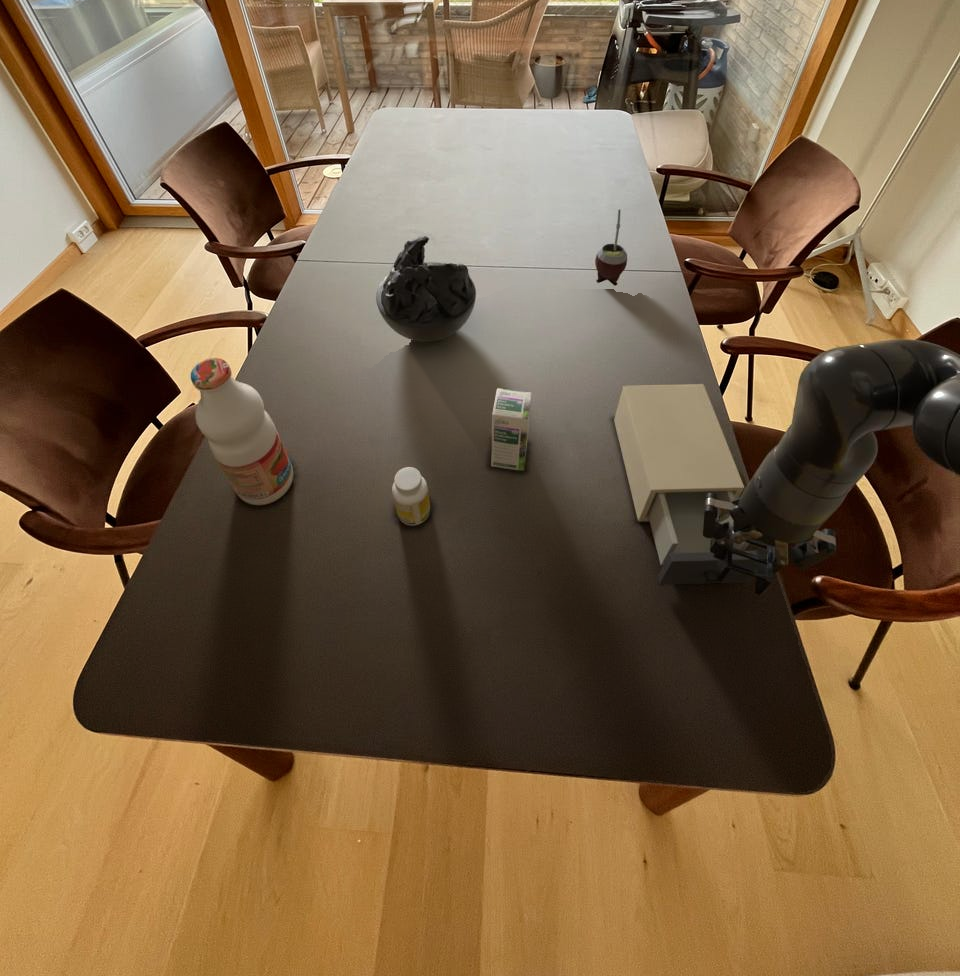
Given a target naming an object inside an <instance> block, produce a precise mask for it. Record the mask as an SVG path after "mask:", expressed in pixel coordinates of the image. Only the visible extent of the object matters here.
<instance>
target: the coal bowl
mask: <svg viewBox="0 0 960 976" xmlns="http://www.w3.org/2000/svg"><path fill="white" fill-rule="evenodd" d="M429 241H430V238H429V236H427V235H420V236H418V237H417V238H413V239H409V240H407V241H406V242H405V243H404V245H403V249H402V250H401V251H400V252H399V253H398V255H397V257H396V259H395V261H394V263H393V265H392V267H391V269H390V272H389V274H387V275H386V276H385V277H384V278H383V279H382V280H381V282H380V283H379V285H378V288H377V290H376V293H375V302H376V306H377V308H378V311H379V313H380V315H381V318H382V319H383V320H384V321H385V323H386V324H387V325H388V326H389V327H390V328H391V329H392V331H394V332H396V334H397V335H400V336H402V337H404V338H406V339H408V340H411V341H415V342H421V343H431V342H437V341H441V340H444V339H446V338H449V337H451V336H453V335H454V334H455V333H457V332H458V331H459V330H460V329H461V328H462V327H463V326H464V325H465V324H466V323H467V321H468V320H469V318H470V316H471V315H472V313H473V310H474V307H475V304H476V299H477V290H476V286H475V283H474V281H473V279H472V278H471V276H470V274H469V269H468V268H469V267H468V266H467V265H465V264H463V263H452V262H448V263H446V262H438V261H425V257H426V256H425V255H426V253H425V252H426V248H425V246H426V244H428V243H429Z"/></svg>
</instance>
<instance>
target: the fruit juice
mask: <svg viewBox="0 0 960 976" xmlns="http://www.w3.org/2000/svg"><path fill="white" fill-rule="evenodd" d="M190 380H191V381H190V382H191V383H192V385H193V386H194V388H195V389H196V390H198V391H199V393H200V398H199V400H198V403H197V404H196V407H195V413H194V419H195V423H196V425H197V427H198V429H199V431H200V433H201V434H203V436H205V438H206V439H207V444H208V447H209V449H210V451H211V453H212V455H213V457H214V458H215V460H216V462H217V463H218V465H219V466H220V469H221V470H222V472H223V473H224V475H225V476H226V478H227V480H228V481H229V483H230V485H231V487H232V488H233V490H234V492H235V494H236V495H237V496H238V498H239V499H241V500H242V501H243V502H245V503H246V504H248V505H253V506H264V505H268V504H272V503H275V502H276V501H278V500H279V499H280V498H281V497H283V496H284V495H285V494H286V493H287V492H288V491H289V489H290V487H291V486H292V483H293V480H294V468H293V465H292V462H291V460H290V458H289V455H288V453H287V451H286V448H285V447H284V444H283V441H282V440H281V437H280V434H279V432H278V430H277V427H276V425H275V423H274V420H273V419H272V417H271V416H270V415H269V413H268V412H267V411H266V410H265V405H264V401H263V399H262V396H261V394H260V393H259V392H258V391H257V390H256V389H255V388H254V387H253V386H251V385H250V384H248V383H244V382H241V381H238V380H236V379H235V378H234V377H233V376H232V368H231V366H230V365H229V364H228V362H227V361H226V360H224V359H222V358H221V357H210V358H206V359H204V360H202V361H200V362H198V363H197V364H196V365H195V366H194V367H193V368H192V370H191V371H190Z"/></svg>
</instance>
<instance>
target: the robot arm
mask: <svg viewBox="0 0 960 976" xmlns="http://www.w3.org/2000/svg"><path fill="white" fill-rule="evenodd" d="M905 427H906V428H907V427H912V434H913V436H912V437H913V438H914V441H915V443H916V446H917V447H918V448H919V450H920V451H921V452H922V454H923V455H925V456H926V457H927V458H928V460H930V461H932V462H933V463H935V464H936V465H938V466H939V467H941V468H943V469H944V470H946V471H948V472H950V473H952V474H954V475H955V476H957V477H960V354H959V353H957V352H954V351H953V350H950V349H949V348H947V347H944V346H941V345H939V344H935V343H932V342H928V341H923V340H917V339H909V338H895V339H886V340H879V341H874V342H866V343H860V344H852V345H845V346H838V347H833V348H830V349H827V350H825V351H823V352H821V353H819V354H817V356H815V357H813V359H812V360H810V361H809V363H807V364H806V365H805V367H804V368H803V370H802V371H801V373H800V375H799V378H798V382H797V388H796V395H795V400H794V407H793V411H792V419H791V424H790V425H789V427H788V428H787V429H786V430H785V432H784V434H783V435H782V437H781V438H780V440H779V441H778V443H777V444H776V445H775V446H774V447H773V448H772V449H771V450H770V451H769V452H768V453H767V455H766V456H765V458H764V459H763V460H762V462H761V463H760V465H759V467H758V468H757V469H756V471H755V473H754V474H753V476H752V477H751V478H750V480H749V482H748V484H747V485H746V486H745V487H744V489H743V490H742V492H741V494H740V496H739V497H738V498H736V499H734V500H733V501H732V502H726V501H720V500H717V499H718V496H717V494H715V493H711V492H710V493H707V494H706V503H705V512H704V525H703V536H704V537H706V538H710V539H711V538H712V539H711V543H710V552H711V553H713V557H714V558H717V559H720V558H721V556H722V555H723V554H724V552H725V551H726V549H727V548H728V545H729V544H732V543H734V542H735V543H737V544H741V543H743V542H745V541H748V540H750V539H752V540H757V541H761V542H763V543H765V544H767V545H770V546H773V565H772V574H777V573H778V572H779V571H780V570H781V569H782V568H783V567H786V566H788V565H789V564H794V566H795V567H796V568H797V569H800V570H806V569H809V568H810V567H812V566H815V565H817V564H819V563H821V562H823V561H825V560H827V559H829V558H831V557H833V556H835V555H837V542H836V541H837V540H836V539H837V538H836V531H835V530H834V529H831V528H824V529H821V530H820V528H821V527H822V526H823V525H824V524H825V523H826V522H827V520H828V519H829V518H830V517H831V516H832V515H833V514H834V513H835V512H836V511H837V510H838V509H839V508H840V506H841V505H842V504H843V502H844V501H845V499H846V498H847V495H848V493H849V492H850V491H851V490H852V489H853V488H854V487H855V485H857V484H858V482H859V481H860V480H861V479H862V478H863V477H864V476H865V474H866V473H867V472H868V471H869V470H870V468H872V465H873V464H874V463H875V460H876V458H877V455H878V450H879V447H878V439H877V437H876V435H875V432H880V431H887V430H893V429H899V428H905ZM724 514H730V517H729V518H728V519H726V520H724V521H722V522H720V523H718V522H716V521H720V517H723V516H724ZM715 520H716V521H715ZM789 545H790V546H789ZM791 545H794V546H791Z"/></svg>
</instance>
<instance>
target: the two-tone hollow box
mask: <svg viewBox="0 0 960 976" xmlns="http://www.w3.org/2000/svg"><path fill="white" fill-rule="evenodd" d="M710 492H711V493H715V494H717V496H718V499H717V500H720V501H726V502H732V501H733V500H734V499H735V497H734V494H733V492H732V491H704V492H665V493H656V494H655V496H654V498H653V501H652V503H651V505H650V508H649V510H648V512H647V513H648V517H649V521H648V522H649V524H650V528H651V533H652V536H653V540H654V544H655V549H656V551H657V555H658V559H659V563H660V566H661V569H660V571H659V573H658V575H657V581H658V585H662V586H663V585H693V584H697V585H698V584H699V585H701V584H730V583H732V584H733V583H747V581H748V580H749V579H750V578H751V576H750V575H747V574H744V573H741V572H738V571H736V570H733V569H731V570H730V571H729V572H728V574H727V575H726V576H725V577H724V579H723V580H722V581H721V582H720V581H717V580H716V576H717V565H718V559H717V558H714V557H713V553H711V552H710V543H711V539H712V538H711V539H710V538H706V537H704V536H703V525H704V512H705V503H706V494H707V493H710ZM729 516H730V514H724V516H723V517H720V521H716V520H715V521H716V522H718V523H720V522H722V521H724V520H726V519H728V517H729ZM749 545H751V544H750V543H747V542H743V543H741V544H737V543H735V542H734V543H733V548H736V549H739V550H742V551H745V552H748V553H751V554H754V555H756V553H757V550H747V548H748V547H749ZM732 564H735V565H738V566H741V567H744V568H747V569H750V570H753V571H756V561H754V560H751V559H748V558H745V557H742V556H739V555H736V554H733V555H732Z"/></svg>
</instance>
